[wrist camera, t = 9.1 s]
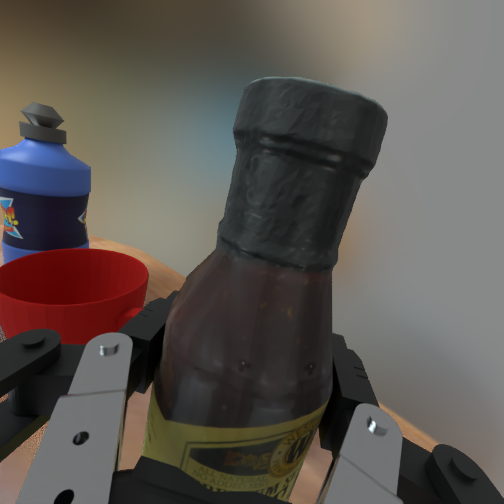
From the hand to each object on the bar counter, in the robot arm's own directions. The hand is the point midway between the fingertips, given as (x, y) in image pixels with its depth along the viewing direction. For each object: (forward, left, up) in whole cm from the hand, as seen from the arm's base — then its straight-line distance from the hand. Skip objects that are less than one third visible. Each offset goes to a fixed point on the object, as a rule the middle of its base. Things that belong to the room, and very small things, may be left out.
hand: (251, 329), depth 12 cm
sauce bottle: (-1, -2, -11) cm, 11 cm away
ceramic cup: (-9, +18, -17) cm, 26 cm away
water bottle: (-16, +31, -17) cm, 38 cm away
